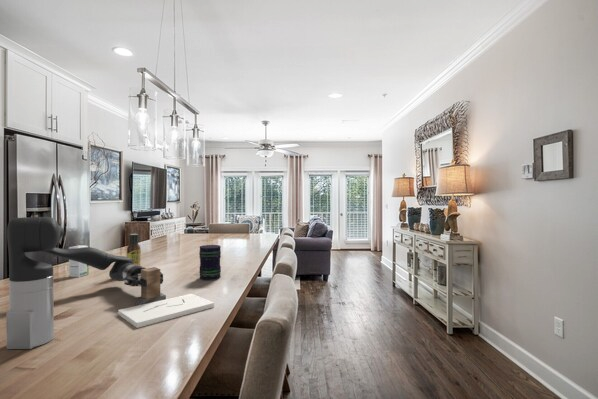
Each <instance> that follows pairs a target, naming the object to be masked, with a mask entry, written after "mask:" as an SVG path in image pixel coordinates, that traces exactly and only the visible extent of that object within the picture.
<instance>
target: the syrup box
mask: <svg viewBox="0 0 598 399" xmlns="http://www.w3.org/2000/svg"><path fill="white" fill-rule="evenodd" d="M85 247H89V246H88V245H86V244H85V245H84V244H81V245H79V244H78V245H74V246H69V247H68V249H76V248H85ZM68 263H69V264H68V265H69V266H68V267H69V268H68V269H69V270H68V271H69V272H68V273H69V277H70V278H71V277H72V278H80V277H85V276H88V275H89V274H90V273H89V265H86V264H83V263H80V262H77V261H73V260H69V259H68Z"/></svg>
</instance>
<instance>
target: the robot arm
mask: <svg viewBox="0 0 598 399" xmlns="http://www.w3.org/2000/svg"><path fill="white" fill-rule="evenodd" d="M64 234H65V230H64V227H63V226H61V225H60V224H59V223H58V221H57V220H56V219H55V218H53V217H50V216H36V217H35V216H34V217H33V216H29V217H27V216H26V217H13V218H11V220H9V222H8V224H7V231H6V235H7V238H6V239H7V249H8V272H9V273H8V276H9V277H8V281H9V282H8V286H9V287H8V288H9V289H8V291H9V294H8V295H9V296H8V297H9V298H8V300H9V301H8V303H9V305H8V306H9V310H8V311H6V316H5V319H6V322H5V323H6V350H31V349H33V348H35V347H39V346H42V345H44V344H48V343H49V342H51V341H52V340H53V339H54V338H55V334H54V333H55V332H54V331H55V329H54V328H55V324H54V322H55V321H54V320H55V317H54V313H55V311H54V310H55V308H54V267H53V266H54V265H52V264H50V263H48V262H42V261H38V260H33V259H31V258H29V257H28V256H27V255H26V254H25V253H36V252H37V253H38V252H40V253H44V254H47V255H51V256H54V257H58V258H61V259H65V260H68V261H69V260H73V261H77V262H80V263H83V264H86V265H88V267H92V268H93V269H97V270H100V271H105V270H106V269H108V268H109V267H110V266H111V265H112V264H113V265H112V266H111V269H110V270H109V273H108V276H109V277H110V279H111V280H113V281H116V282H124V284H123V285H124V286H129V287H141V286H143V287H147V281H146V280H144V279H142V278H141V269H146V268H147V267H145V266H142V265H140V266H139V265H135V264H133V260H132V259H131V258H129V257H127V256H122V255H114V254H111V253H108V252H105V251H103V250H100V249H98V248H96V247H90V246H88V247H85V248H76V249H69V248H60V247H57V245H58V243H59V242H60V240H61V239H62V237H64ZM163 283H164V273H162V272H161V271H160V285H162V284H163Z"/></svg>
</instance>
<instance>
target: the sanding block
mask: <svg viewBox="0 0 598 399" xmlns="http://www.w3.org/2000/svg"><path fill="white" fill-rule="evenodd" d="M145 268H146V269H141V278H142V279H144V280H146V281H147V287H143V286H140V296H136V297H135V304H136V305H137V306H139V305H143V304H147V303H152V302H156V301H161V300H165V299H167V295H166V294H164V293H163V292H161V284H160V272H161V268H158V267H155V266H153V267H148V268H147V267H145Z"/></svg>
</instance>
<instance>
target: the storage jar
mask: <svg viewBox="0 0 598 399" xmlns="http://www.w3.org/2000/svg"><path fill="white" fill-rule="evenodd" d="M221 248H222V247H221V245H220V244H219V245H218V244H206V245H205V244H204V245H201V246H199V272H198V273H199V279H200V280H201V281H214V280H219V279H221V277H222V276H221V273H222V272H221V271H222V266H221V257H222V256H221V254H222V252H221Z"/></svg>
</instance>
